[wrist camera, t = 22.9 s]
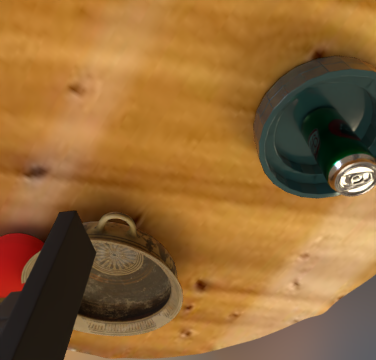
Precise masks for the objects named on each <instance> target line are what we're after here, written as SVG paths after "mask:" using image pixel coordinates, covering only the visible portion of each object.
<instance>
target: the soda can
mask: <svg viewBox="0 0 376 360" xmlns="http://www.w3.org/2000/svg"><path fill="white" fill-rule="evenodd" d="M301 133H302V136H303V138H304V140H305V141H306V143H307V145H308V147H309V149H310V151H311V153H312V154H313V156H314V158H315V160H316V162H317V164H318V166H319V168H320V169H321V171H322V173H323V175H324V177H325V179H326V181H327V182H328V184H329V186H330V187H331V188H332V189H333V190H335V191H337V192H339V193H340V194H342V195H344V196H358V195H361V194H364V193H366V192H368V191H369V190H371V189H372V188H373V187H374V186H375V185H376V158H375V157H374V155H373V154H372V153H371V152H370V150H369V149H368V148H367V147H366V146H365V144H364V143H363V142H362V141H361V139H360V138H359V137H358V136H357V134H356V133H355V132H354V131H353V129H352V128H351V127H350V126H349V125H348V123H347V122H346V121H345V120H344V118H343V117H342V116H341V115H340V113H339V112H338V111H336V110H334V109H332V108H321V109H318V110H315V111H313V112H312V113H310V114H309V115H308V116H307V117H306V118H305V120H304V121H303V123H302V127H301Z"/></svg>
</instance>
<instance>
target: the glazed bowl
mask: <svg viewBox="0 0 376 360" xmlns="http://www.w3.org/2000/svg"><path fill="white" fill-rule="evenodd" d="M321 108H332V109H334V110H336V111H338V112H339V113H340V115H341V116H342V117H343V118H344V120H345V121H346V122H347V123H348V125H349V126H350V127H351V128H352V129H353V131H354V132H355V133H356V134H357V136H358V137H359V138H360V139H361V141H362V142H363V143H364V144H365V146H366V147H367V148H368V149H369V150H370V152H371V153H372V154H373V155H374V157H375V158H376V68H375V67H374V66H373V65H371V64H369V63H366V62H364V61H362V60H360V59H357V58H353V57H344V56H331V57H325V58H318V59H315V60H312V61H310V62H307V63H305V64H302V65H300V66H298V67H295V68H294V69H293V70H291V71H290V72H288V73H287V74H285V75H284V76H283V77H281V78H280V79H279V80H278V81H277V82H276V83H275V84H274V85H273V87H272V88H271V89H270V90H269V91H268V92H267V93H266V95H265V96H264V98H263V100H262V102H261V104H260V106H259V107H258V110H257V113H256V117H255V121H254V125H253V130H254V142H255V146H256V149H257V152H258V156H259V159H260V162H261V165H262V167H263V170H264V172H265V174H266V175H267V176H268V178H269V179H270V180H271V181H272V182H273V184H275V185H276V186H278V187H279V188H281V189H282V190H284V191H285V192H288V193H291V194H294V195H297V196H300V197H307V198H325V197H334V196H338V195H341V194H340V193H339V192H337V191H335V190H333V189H332V188H331V187H330V186H329V184H328V182H327V181H326V179H325V177H324V175H323V173H322V171H321V169H320V168H319V166H318V164H317V162H316V160H315V158H314V156H313V154H312V153H311V151H310V149H309V147H308V145H307V143H306V141H305V140H304V138H303V136H302V133H301V127H302V123H303V121H304V120H305V118H306V117H307V116H308V115H309V114H310V113H312V112H313V111H315V110H318V109H321Z"/></svg>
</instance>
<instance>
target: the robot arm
mask: <svg viewBox="0 0 376 360" xmlns="http://www.w3.org/2000/svg"><path fill="white" fill-rule="evenodd" d="M95 256H96V251H95V249H94V246H93V244H92V242H91V240H90V238H89V236H88V234H87V232H86V230H85V228H84V226H83V224H82V222H81V219H80V217H79V215H78V213H77V211H67V212H59V215H58V217H57V219H56V221H55V223H54V225H53V227H52V229H51V231H50V233H49V235H48V237H47V239H46V241H45V243H44V245H43V247H42V249H41V252H40V254H39V256H38V258H37V260H36V262H35V264H34V266H33V268H32V270H31V272H30V274H29V276H28V278H27V280H26V282H25V284H24V287H23V289H22V291H15V292H11V293H10V294H9V295H8V296H7V297H6V298H5V299H4V300H3V301H2V302H1V304H0V360H64V357H65V353H66V350H67V347H68V344H69V341H70V337H71V334H72V331H73V328H74V324H75V321H76V318H77V315H78V311H79V308H80V305H81V302H82V298H83V295H84V292H85V289H86V285H87V282H88V279H89V276H90V272H91V269H92V266H93V263H94V259H95Z"/></svg>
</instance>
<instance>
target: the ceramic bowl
mask: <svg viewBox="0 0 376 360" xmlns="http://www.w3.org/2000/svg"><path fill="white" fill-rule="evenodd" d="M115 218H118V219H122V220H124V221H126V222H127V223H128V224H129V226H128V225H124V224H120V223H114V222H107V221H108V220H110V219H115ZM82 224H83V226H84V228H85V230H86V232H87V234H88V236H89V238H90V240H91V242H92V244H93V246H94V249H95V251H96V256H95V259H94V263H93V266H92V269H91V272H90V276H89V279H88V282H87V285H86V289H85V292H84V295H83V298H82V302H81V305H80V308H79V311H78V315H77V318H76V321H75V324H74V328H73V329H74V330H77V331H81V332H86V333H91V334H98V335H107V336H131V335H138V334H143V333H147V332H150V331H153V330H156V329H158V328H160V327H162V326H164V325H165V324H167V323H168V322H170V321H171V320H172V319H173V318H174V317H175V316H176V315H177V314H178V312H179V311H180V309H181V307H182V303H183V292H182V288H181V285H180V283H179V281H178V280H177V271H176V266H175V263H174V261H173V259H172V257H171V256H170V254H169V253H168V251H167V250H166V249H165V248H164V247H163V245H162V244H161V243H159V242H158V241H157V240H156V239H154V238H153V237H152V236H150V235H148V234H147V233H145V232H143V231H141V230H139V229H137V228H136V225H135V223H134V221H133V219H132V218H131V217H130V216H129V215H127V214H124V213H122V212H110V213H107V214H105V215H103V216H102V217H101V219H100V220H99V221H95V222H85V223H82ZM40 252H41V251H39V252H38V253H36V254H35V255H34V256H32V257H31V258H30V259H29V261H28V262H27V263H26V265H25V266H24V268H23V271H22V275H21V283H25V282H26V280H27V278H28V276H29V274H30V272H31V270H32V268H33V266H34V264H35V262H36V260H37V258H38V256H39V254H40Z"/></svg>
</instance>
